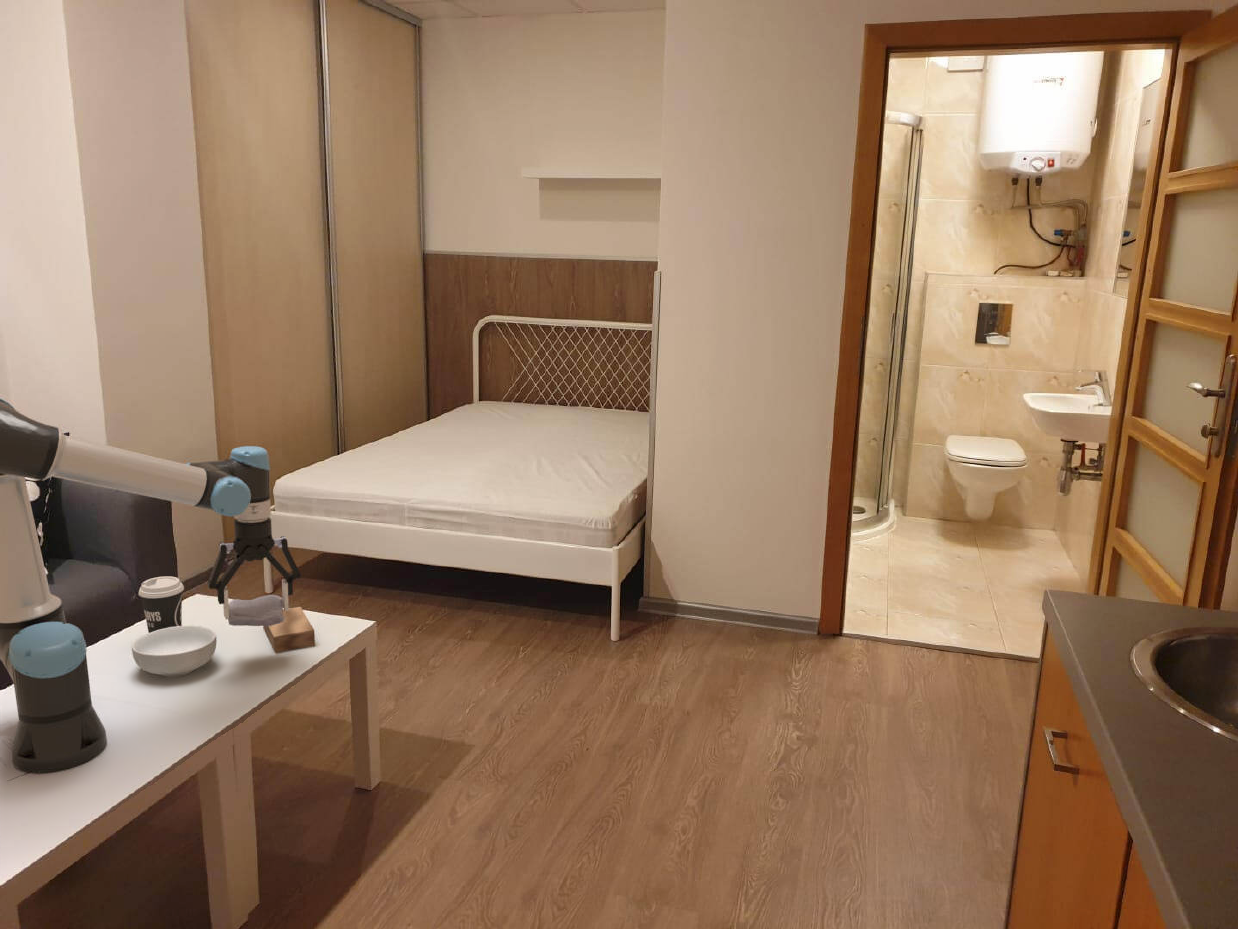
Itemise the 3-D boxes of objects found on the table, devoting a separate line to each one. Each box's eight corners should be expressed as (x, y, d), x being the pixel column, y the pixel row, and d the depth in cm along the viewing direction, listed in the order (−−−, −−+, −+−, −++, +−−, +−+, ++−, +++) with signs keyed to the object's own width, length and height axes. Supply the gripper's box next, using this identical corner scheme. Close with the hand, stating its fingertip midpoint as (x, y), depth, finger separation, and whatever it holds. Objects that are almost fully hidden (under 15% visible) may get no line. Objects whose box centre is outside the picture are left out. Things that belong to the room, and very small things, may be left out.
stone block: (286, 631, 211) (283, 607, 219) (285, 613, 209) (282, 589, 217) (228, 639, 206) (227, 614, 215) (226, 620, 204) (225, 595, 213)
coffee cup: (156, 633, 229) (151, 574, 226) (195, 635, 229) (190, 575, 225) (135, 650, 220) (129, 588, 216) (176, 651, 219) (170, 590, 216)
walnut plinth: (274, 653, 220) (273, 636, 219) (263, 628, 234) (262, 612, 233) (315, 645, 224) (314, 630, 223) (301, 621, 238) (300, 606, 237)
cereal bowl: (233, 656, 218) (230, 627, 216) (191, 689, 202) (188, 658, 200) (164, 650, 220) (161, 621, 219) (117, 682, 204) (114, 651, 203)
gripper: (194, 528, 197) (199, 627, 202) (313, 517, 209) (315, 611, 213) (190, 519, 204) (195, 615, 208) (306, 509, 215) (308, 600, 220)
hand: (256, 613), depth 211 cm, fingers closed on stone block, 12 cm apart
